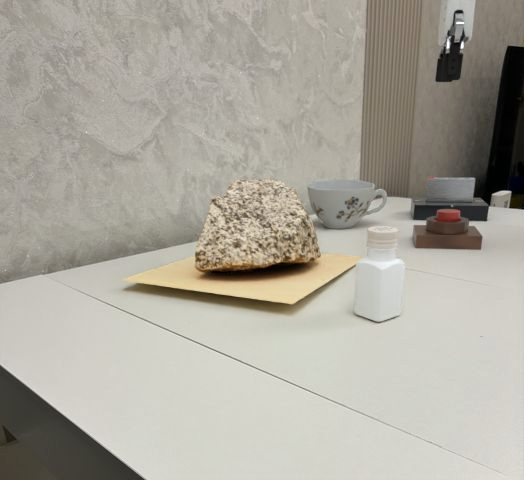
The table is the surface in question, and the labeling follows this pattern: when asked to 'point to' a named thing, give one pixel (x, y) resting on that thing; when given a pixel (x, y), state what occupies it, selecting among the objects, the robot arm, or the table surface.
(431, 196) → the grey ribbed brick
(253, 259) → the rock
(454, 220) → the button
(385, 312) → the salt shaker
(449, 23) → the robot arm
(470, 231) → the button block
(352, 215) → the teacup
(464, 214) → the faucet plate
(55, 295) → the table surface
